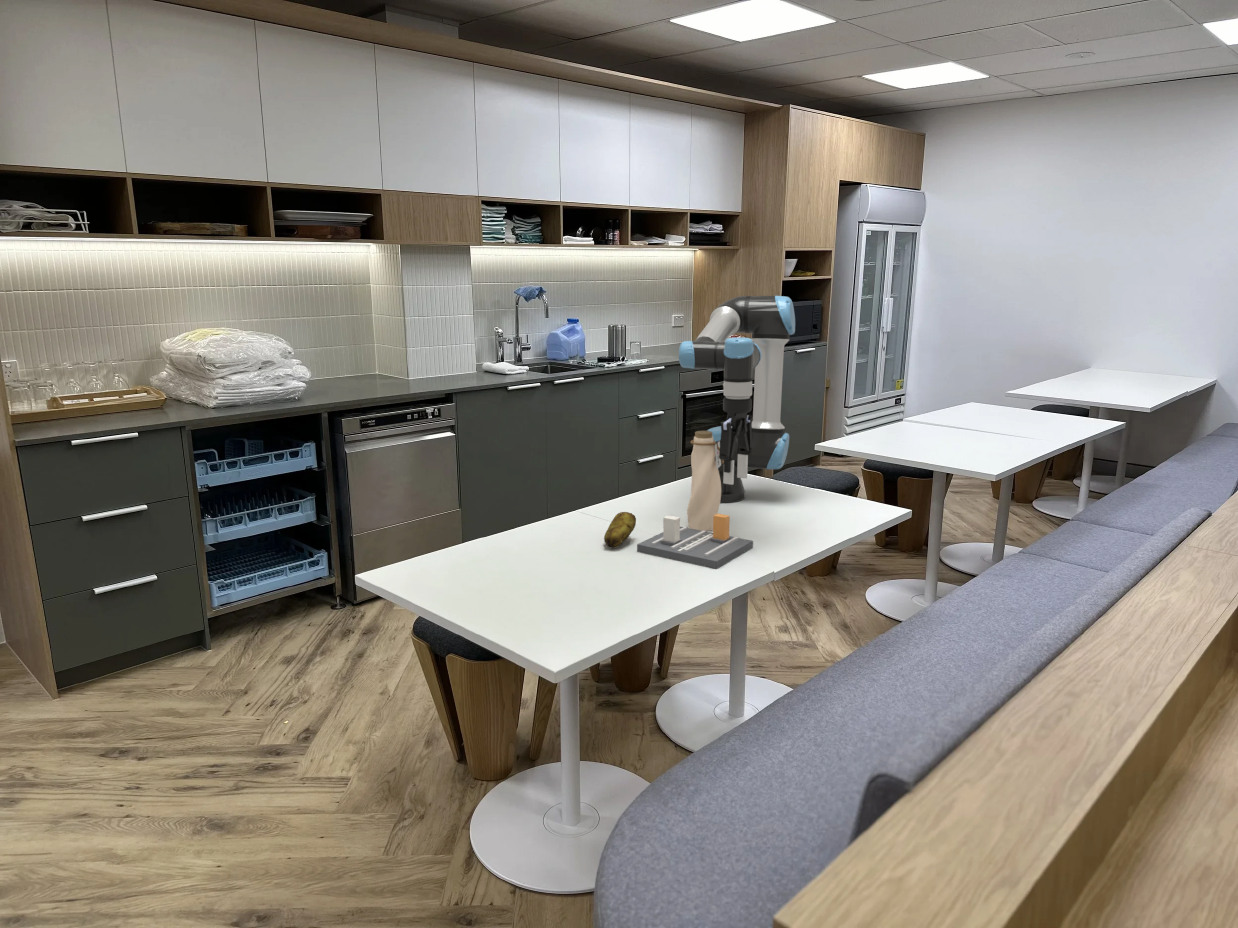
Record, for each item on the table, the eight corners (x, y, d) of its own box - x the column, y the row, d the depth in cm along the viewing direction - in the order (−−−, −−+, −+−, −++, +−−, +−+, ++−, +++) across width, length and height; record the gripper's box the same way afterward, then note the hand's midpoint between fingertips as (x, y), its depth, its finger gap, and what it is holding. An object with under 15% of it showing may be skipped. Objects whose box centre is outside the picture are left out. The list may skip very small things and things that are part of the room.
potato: (591, 545, 234) (591, 517, 232) (623, 534, 243) (623, 507, 241) (614, 552, 228) (614, 523, 227) (645, 540, 238) (645, 512, 236)
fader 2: (718, 537, 234) (718, 512, 232) (731, 540, 231) (731, 515, 230) (710, 541, 230) (711, 516, 229) (724, 543, 228) (724, 518, 226)
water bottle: (722, 522, 254) (724, 429, 247) (722, 532, 245) (724, 435, 239) (687, 522, 255) (688, 429, 248) (686, 531, 246) (687, 435, 240)
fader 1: (669, 539, 232) (669, 514, 230) (681, 542, 230) (682, 517, 228) (661, 543, 229) (661, 518, 227) (673, 546, 227) (674, 520, 225)
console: (676, 532, 245) (676, 523, 244) (752, 547, 231) (753, 538, 231) (637, 551, 229) (637, 541, 228) (716, 568, 215) (716, 558, 215)
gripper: (742, 391, 238) (740, 471, 243) (706, 400, 222) (704, 486, 228) (767, 393, 234) (764, 475, 239) (732, 403, 218) (730, 490, 223)
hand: (735, 480), depth 233 cm, fingers open, 7 cm apart
